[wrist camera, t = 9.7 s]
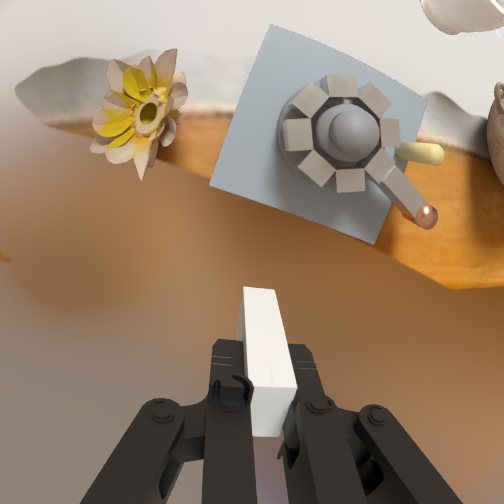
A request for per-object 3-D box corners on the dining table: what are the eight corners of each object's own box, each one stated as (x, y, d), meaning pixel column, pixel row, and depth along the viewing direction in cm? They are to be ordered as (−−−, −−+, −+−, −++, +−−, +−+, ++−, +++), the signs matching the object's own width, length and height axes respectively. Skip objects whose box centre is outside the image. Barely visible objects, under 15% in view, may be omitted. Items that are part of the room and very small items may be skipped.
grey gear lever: (259, 138, 32) (262, 137, 28) (328, 60, 29) (341, 50, 25) (386, 252, 37) (402, 265, 33) (442, 182, 34) (462, 187, 30)
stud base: (269, 27, 31) (280, -10, 20) (422, 101, 34) (470, 95, 24) (210, 184, 38) (199, 199, 27) (369, 241, 41) (406, 272, 31)
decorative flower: (126, 38, 29) (109, 21, 20) (205, 66, 33) (214, 57, 25) (82, 143, 34) (55, 160, 26) (157, 169, 38) (152, 192, 30)
